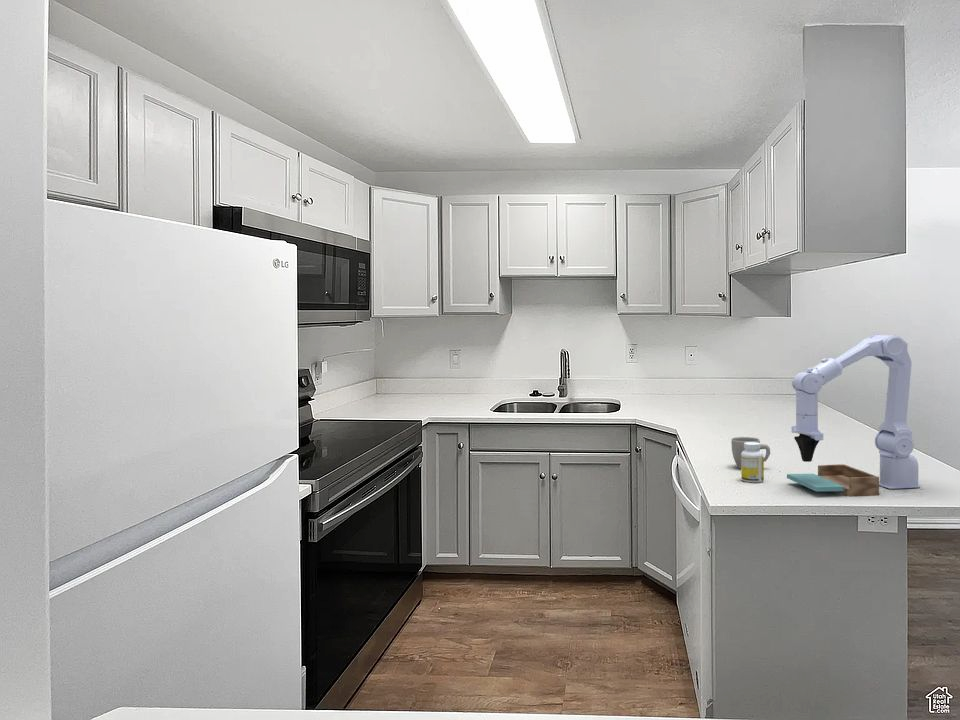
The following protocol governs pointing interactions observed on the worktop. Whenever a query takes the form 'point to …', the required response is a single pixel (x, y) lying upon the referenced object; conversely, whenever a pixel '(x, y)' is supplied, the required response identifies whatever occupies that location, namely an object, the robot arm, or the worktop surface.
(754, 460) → the pill bottle
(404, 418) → the worktop surface
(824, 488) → the teal box lid
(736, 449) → the mug
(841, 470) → the wooden box
